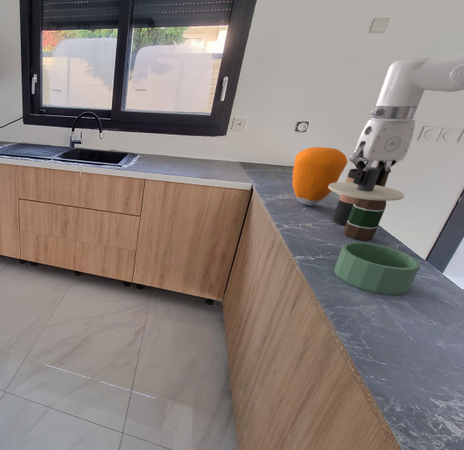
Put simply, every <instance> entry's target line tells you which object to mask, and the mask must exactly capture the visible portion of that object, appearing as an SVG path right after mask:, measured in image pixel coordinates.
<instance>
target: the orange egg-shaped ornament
mask: <svg viewBox="0 0 464 450" xmlns="http://www.w3.org/2000/svg"><path fill="white" fill-rule="evenodd" d="M347 164H348V157H347V156H346V155H345V154H344V153H343V152H342V151H341V150H340V149H337V148H333V147H324V146H312V147H307V148H305V149H303V150H301V151H299V152H298V153H297V154H296V155H295V158H294V163H293V169H292V189H293V191H294V194H295V198H296V199H297V201H298V203H300V204H303V205H306V206H309V207H311V206H312V207H313V206H315V205H317V204H318V203H319V202H320V201H322V200H324V199H325V198H326V197H327V196H328V195H329V194H330V193H331V192H333V191H332V190H330V189H329V188H328V186H329V184H331V183H336V182H339V180H340V176H341V175H342V173H343V172H344V170H345V168H346V167H347Z"/></svg>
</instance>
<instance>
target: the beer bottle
mask: <svg viewBox="0 0 464 450" xmlns="http://www.w3.org/2000/svg"><path fill="white" fill-rule="evenodd" d="M390 173H392V169H391V168H390V170H389V171H386V173H385V176H384V179H383V181H382V184H381V185H380V186H383V187H386V184H387V182H388V178H389V174H390ZM386 206H387V201H382V200H381V201H380V200H366V199H359V198H356V200H355V202H354V204H353V207H352V209H351V212H350V215H349V217H348V220H347V223H346V226H345V225H344V229H343V234H344V236H345V237H347V238H350V239H353V240H358V241H362V242H363V241H364V242H366V241H371V240H373V238H374V236H375V234H376V233H377V230H378V227H379V225H380V222H381V220H382V217H383V215H384V212H385V210H386Z"/></svg>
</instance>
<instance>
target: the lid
mask: <svg viewBox="0 0 464 450" xmlns="http://www.w3.org/2000/svg"><path fill="white" fill-rule="evenodd" d="M368 171H369V172H370V175H369V177H368V180H367V183H366V185H365V186H360V185H357V184H354V183H353V182H346V181H337V182H336V183H331V184H329V186H328V188H329V189H330V190H332V191H331V192H334V193H336V194H340V195H341V194H343V195H346V196H350V197H354V198H359V199H366V200H380V201H381V200H382V201H386V202H389V201H390V202H391V201H392V202H393V201H400V200H403V199H404V198H405V194H404V193H403V192H402V191H400V190H398V189H395V188H390V187H387V186H385V187H383V186H377V185H375V184H376V182H377V179H378V176H379V174H380V171H381V169H380V168H376V166H371V167H370V169H369V170H368Z"/></svg>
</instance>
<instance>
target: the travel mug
mask: <svg viewBox="0 0 464 450" xmlns="http://www.w3.org/2000/svg"><path fill="white" fill-rule="evenodd" d="M357 170H358V169H356V168H349V170H348V173H347V176H346V179H345V182H354V179H355V176H356V173H357ZM355 200H356V198H354V197H350V196H346V195H343V194H340V196H339V198H338V202H337V205H336V207H335V208H336V209H335V211H334V214H333V218H332V222H333V223H334V224H337V225H341V226H344V227H345V226H346V223H347V220H348V217H349V215H350V212H351V209H352V207H353V204H354V202H355Z"/></svg>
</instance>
